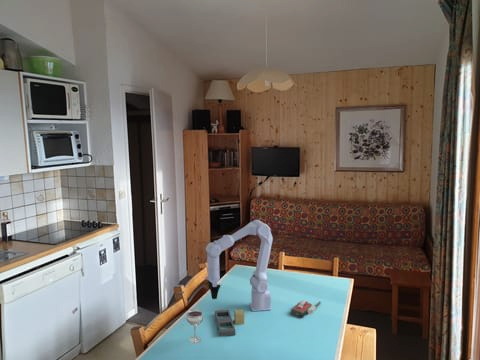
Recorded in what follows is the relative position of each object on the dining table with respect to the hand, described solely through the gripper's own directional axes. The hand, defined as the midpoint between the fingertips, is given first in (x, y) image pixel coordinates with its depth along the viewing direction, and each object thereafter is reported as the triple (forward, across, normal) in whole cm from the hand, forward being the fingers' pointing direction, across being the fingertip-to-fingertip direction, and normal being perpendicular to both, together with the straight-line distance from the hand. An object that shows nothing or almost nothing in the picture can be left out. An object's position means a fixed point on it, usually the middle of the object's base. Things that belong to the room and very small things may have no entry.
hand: (213, 295), depth 180 cm
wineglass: (+10, +21, -10) cm, 25 cm away
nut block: (+10, +9, +11) cm, 17 cm away
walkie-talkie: (+11, +2, +46) cm, 47 cm away
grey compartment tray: (+10, +10, +4) cm, 15 cm away
